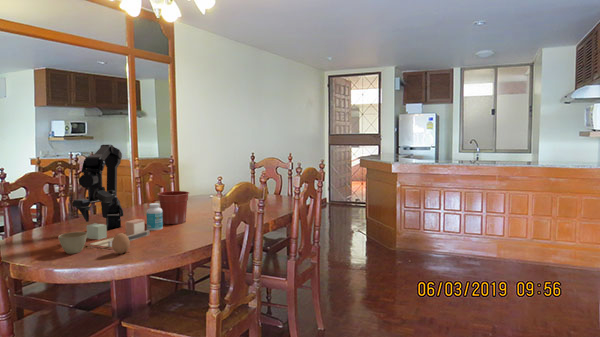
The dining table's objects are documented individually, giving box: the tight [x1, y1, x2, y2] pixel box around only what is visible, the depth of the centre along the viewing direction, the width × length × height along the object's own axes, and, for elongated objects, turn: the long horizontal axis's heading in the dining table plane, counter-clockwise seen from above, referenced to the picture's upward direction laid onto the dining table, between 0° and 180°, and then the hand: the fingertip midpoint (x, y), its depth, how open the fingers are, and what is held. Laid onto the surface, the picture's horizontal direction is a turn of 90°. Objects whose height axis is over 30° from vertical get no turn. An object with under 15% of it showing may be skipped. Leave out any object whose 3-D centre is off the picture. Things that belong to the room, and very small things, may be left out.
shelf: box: [89, 229, 151, 251], centre depth 175 cm, size 12×22×3 cm, turn 157°
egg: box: [111, 232, 131, 255], centre depth 158 cm, size 6×6×8 cm
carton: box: [124, 218, 146, 236], centre depth 181 cm, size 5×7×7 cm
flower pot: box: [156, 190, 190, 225], centre depth 216 cm, size 16×16×16 cm
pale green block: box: [86, 222, 108, 241], centre depth 178 cm, size 5×7×7 cm
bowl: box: [58, 231, 88, 255], centre depth 160 cm, size 10×10×7 cm
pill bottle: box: [146, 202, 164, 231], centre depth 196 cm, size 8×7×14 cm
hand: (96, 219), depth 178 cm, fingers open, 9 cm apart
